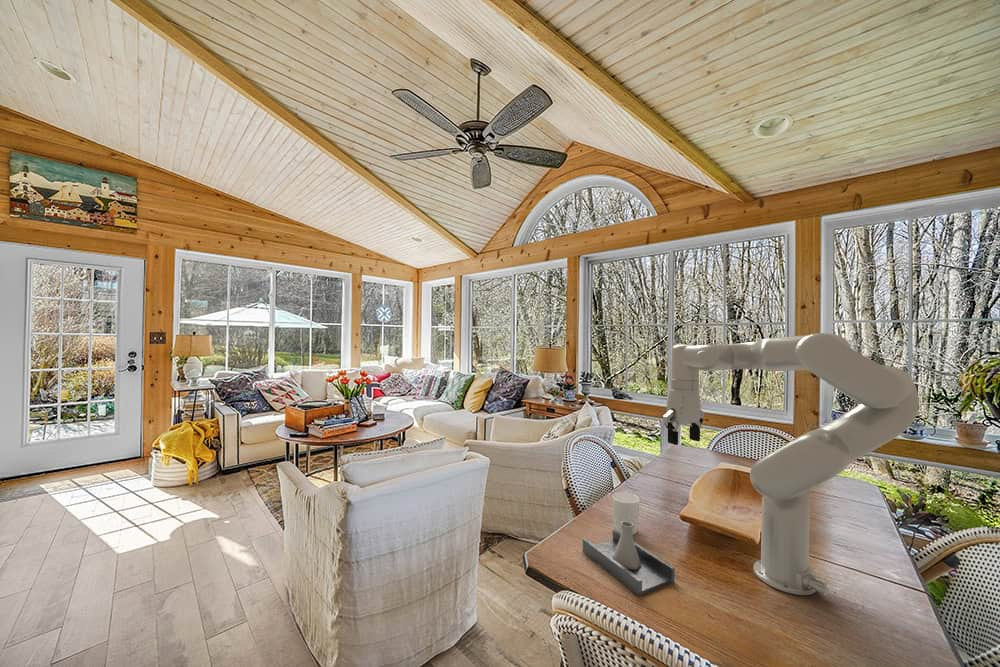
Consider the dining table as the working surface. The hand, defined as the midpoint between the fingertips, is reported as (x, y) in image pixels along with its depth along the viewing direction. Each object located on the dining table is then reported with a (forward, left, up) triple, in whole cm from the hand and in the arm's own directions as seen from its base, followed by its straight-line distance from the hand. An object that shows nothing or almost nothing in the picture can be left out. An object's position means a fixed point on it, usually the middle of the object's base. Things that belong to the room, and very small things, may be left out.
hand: (683, 441), depth 116 cm
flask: (-4, +27, -28) cm, 39 cm away
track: (-4, +27, -28) cm, 39 cm away
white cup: (+10, +13, -28) cm, 33 cm away
